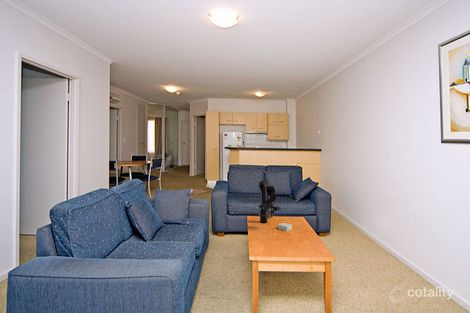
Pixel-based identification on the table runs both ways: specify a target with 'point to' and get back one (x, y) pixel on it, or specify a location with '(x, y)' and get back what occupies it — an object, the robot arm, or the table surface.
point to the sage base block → (285, 226)
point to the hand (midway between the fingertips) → (269, 216)
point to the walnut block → (268, 214)
